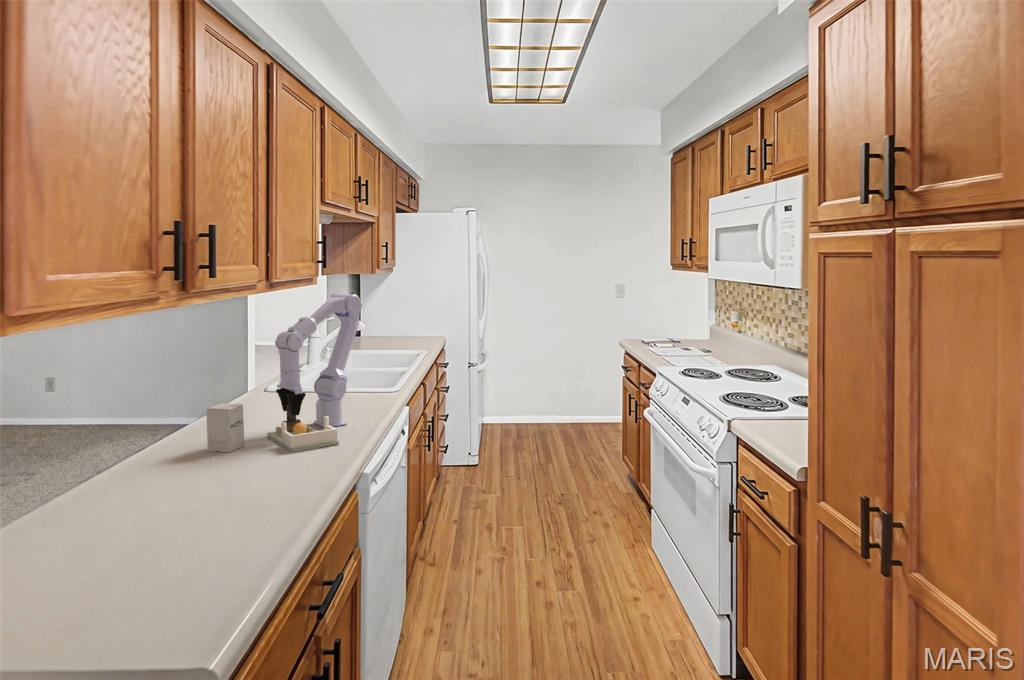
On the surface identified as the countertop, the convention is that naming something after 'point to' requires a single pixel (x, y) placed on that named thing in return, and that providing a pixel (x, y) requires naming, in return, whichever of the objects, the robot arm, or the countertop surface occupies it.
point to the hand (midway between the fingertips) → (291, 413)
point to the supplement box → (225, 427)
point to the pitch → (305, 437)
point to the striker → (290, 419)
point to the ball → (299, 428)
